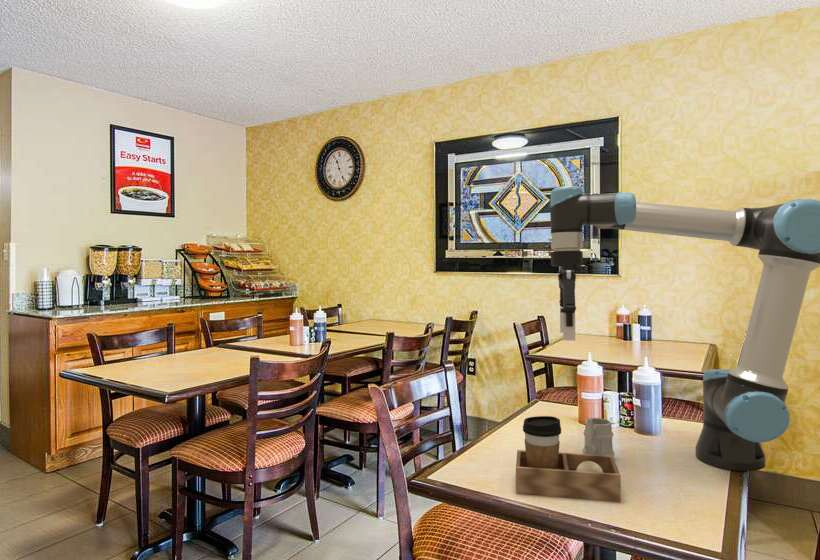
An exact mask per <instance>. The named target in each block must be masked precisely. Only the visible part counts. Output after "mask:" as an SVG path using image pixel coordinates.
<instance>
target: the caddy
mask: <svg viewBox="0 0 820 560" xmlns="http://www.w3.org/2000/svg"><path fill="white" fill-rule="evenodd" d="M515 460H516V462H515V494H516V495H524V496H526V495H527V496H536V497H537V496H539V497H550V498H563V499H573V500H574V499H575V500H587V501H598V502H599V501H601V502H611V503H621V502H622V501H621V499H622V498H621V497H622V496H621V495H622V494H621V493H622V492H621V490H622V489H621V483H622V482H621V479H622V477H621V474H620V470H619V468H618V466H617V463H616V461H615V459H614V457H613V456H606V455H591V454H583V453H574V452H573V453H571V452H559V455H558V466H557V469H545V468H531V467H527V458H526V449H525V450H524V449H517V451H516V459H515ZM585 461H592V462H595V463H596V464H598V465H599V466H600V467H601V468H602V470H603V473H602V472H588V471H576V469H577V467H578V466H579V464H581V463H582V462H585Z"/></svg>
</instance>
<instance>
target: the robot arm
mask: <svg viewBox="0 0 820 560" xmlns="http://www.w3.org/2000/svg"><path fill="white" fill-rule="evenodd" d="M549 203H550V206H549V207H550V208H549V209H550V210H549V212H550V237H548V238H547V240H548V242H550V248H551V249H552V250H553V251H551V252H550V265H551V266H552V267H561V269H559V273H558V274H557V275H558V276H557V279H558V288H559V325H560V326H559V328H560V329H559V332H560V333H562V341H576V310H577V306H576V280H577V274H576V272H575V270H574V269H573V267H582V266H583V264H584V258H583V257H584V254H583V251H582V250H581V249H582V248H584V235H583V234H584V232H583V226H594V227H595V228H597V229H601V230H607V229H610V230H612V229H613V230H622V231H632V232H641V233H650V234H660V235H669V236H676V237H677V236H679V237H687V238H694V239H695V238H696V239H704V240H705V239H706V240H713V241H714V240H715V241H725V242H729V244H731V246H732V247H740V248H741V247H742V248H749V249H754V250H758V254H757V258H758V259H759V260H760V261H761V263H762V264H763V266H762V270H761V273H760V278H759V282H758V286H757V290H756V293H755V294H756V295H755V298H754V302H753V306H752V310H751V314H750V318H749V321H748V326H747V328H746V329H747V330H746V333H745V336H744V341H743V345H742V350H741V352H740V357H739V360H738V365H737V366H736V367H733V368H732V369H726V368H720V369H719V368H711V369H710V368H709V369H706V370H705V371H704V372H703V375H702V377H703V378H702V387H703V388H702V393H703V394H702V395H703V396H702V399H703V401H702V406H703V407H702V408H703V409H702V410H703V411H702V416H703V417H702V419H703V420H702V421H703V423H702V425H703V426H702V429H701V431H700V434H699V437H698V439H697V442H696V444H695V457H696V458H697V459H698V460H700V461H701V462H703V463H705V464H708V465H710V466H712V467H713V466H714V467H715V468H716V467H717V468H720V469H724V470H725V469H726V470H731V471H738V472H756V471H760V470H763V469H764V468H765V467H766V454H765V452H764V450H763V446H762V444H761V443H769V442H771V441H773V440H776V439H778V438H779V437H781V436H782V435H784V433H785V432H786V431H787V430H788V428H789V426H790V421H791V417H790V416H791V415H790V411H789V409H788V406H787V404H786V400H787V396H788V395H787V394H788V393H789V392H788V391H789V385H788V384H787V383H786V382H785V379H784V372H785V369H786V365H787V361H788V358H789V354H790V350H791V347H792V342H793V339H794V334H795V331H796V327H797V324H798V320H799V315H800V313H801V308H802V304H803V301H804V297H805V295H806V294H805V293H806V291H807V285H808V282H809V278H810V275H811V273H812V272H813V271H814V270H816V269H818V268H820V200H817V199H812V198H804V199H802V198H796V199H794V200H793V199H792V200H790V201H787V202H783V203H781V204H776V205H775V204H774V205H771V206H764V207H752V208H751V207H742V206H741V207H738V208H736V209H735V210H726V209H716V208H704V207H693V206H684V205H673V204H671V205H670V204H664V203H663V204H658V203H651V202H650V203H648V202H640V201H639V202H638V201H637V200H636V195H635V194H634V193H633V192H621V191H618V192H609V193H595V194H594V193H593V194H590V193H589V194H587V193H584V192H583V188H582V187H581V186H577V185H564V186H558V187H555V188H553V189H552V190H551V192H550V202H549Z"/></svg>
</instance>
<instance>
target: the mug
mask: <svg viewBox="0 0 820 560" xmlns="http://www.w3.org/2000/svg"><path fill="white" fill-rule="evenodd" d="M584 420H585V421H584V423H585V424H584V430H583V435H584V447H583V448H582V454H591V455H606V456H613V458H614V457H615V451H614V450H613V449H614V448H613V447H614V446H613V436H614V433H613V430H612V422H611V420H609V419H606V418H600V417H590V418H586V419H584Z"/></svg>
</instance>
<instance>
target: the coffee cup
mask: <svg viewBox="0 0 820 560" xmlns="http://www.w3.org/2000/svg"><path fill="white" fill-rule="evenodd" d="M522 431H523V433H524V447H525V448H524V449H525V450H526V458H527V467H531V468H545V469H557V466H558V455H559V453H560V443H561V442H560V435H561V434H562V428H561V420H560V418H559V417H555V416H551V415H550V416H549V415H545V416H544V415H543V416H542V415H539V416H536V415H535V416H530V417H526V418H524V421H523V425H522Z"/></svg>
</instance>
